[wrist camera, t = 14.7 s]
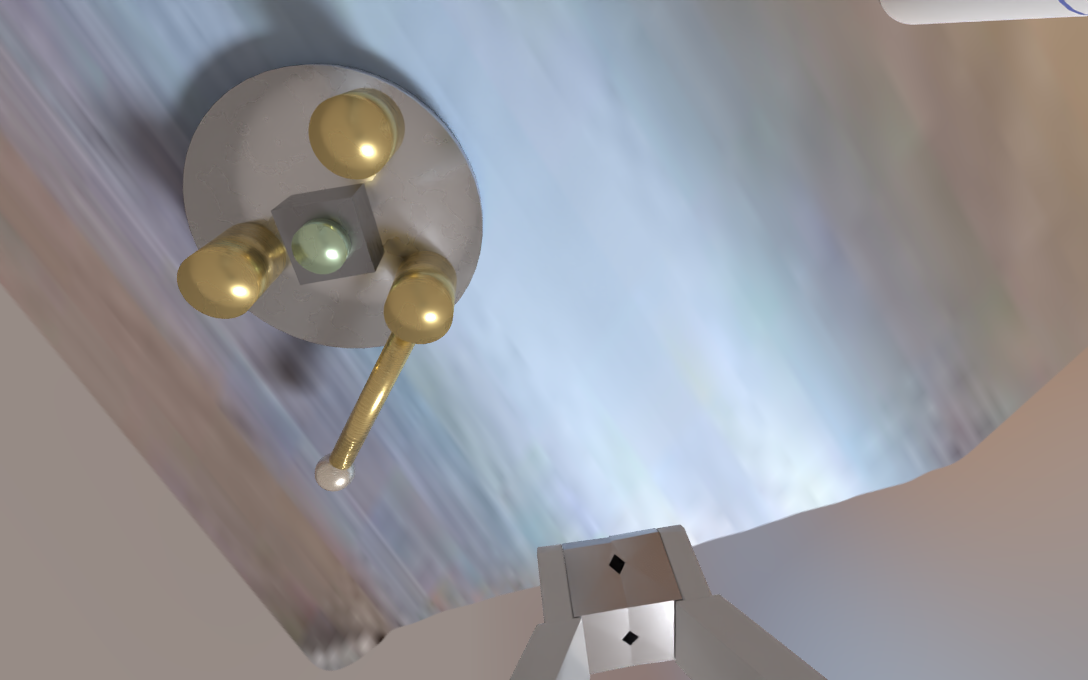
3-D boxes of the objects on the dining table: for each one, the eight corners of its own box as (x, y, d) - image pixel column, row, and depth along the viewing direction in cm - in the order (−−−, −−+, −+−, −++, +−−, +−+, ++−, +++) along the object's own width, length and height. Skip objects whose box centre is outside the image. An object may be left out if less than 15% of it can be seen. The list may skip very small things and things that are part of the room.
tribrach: (141, 91, 35) (54, 102, 28) (449, 40, 35) (440, 39, 28) (264, 355, 44) (223, 413, 37) (504, 313, 45) (507, 363, 38)
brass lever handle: (411, 240, 39) (399, 271, 33) (466, 267, 40) (464, 301, 35) (315, 441, 46) (294, 492, 41) (365, 458, 47) (350, 509, 42)
